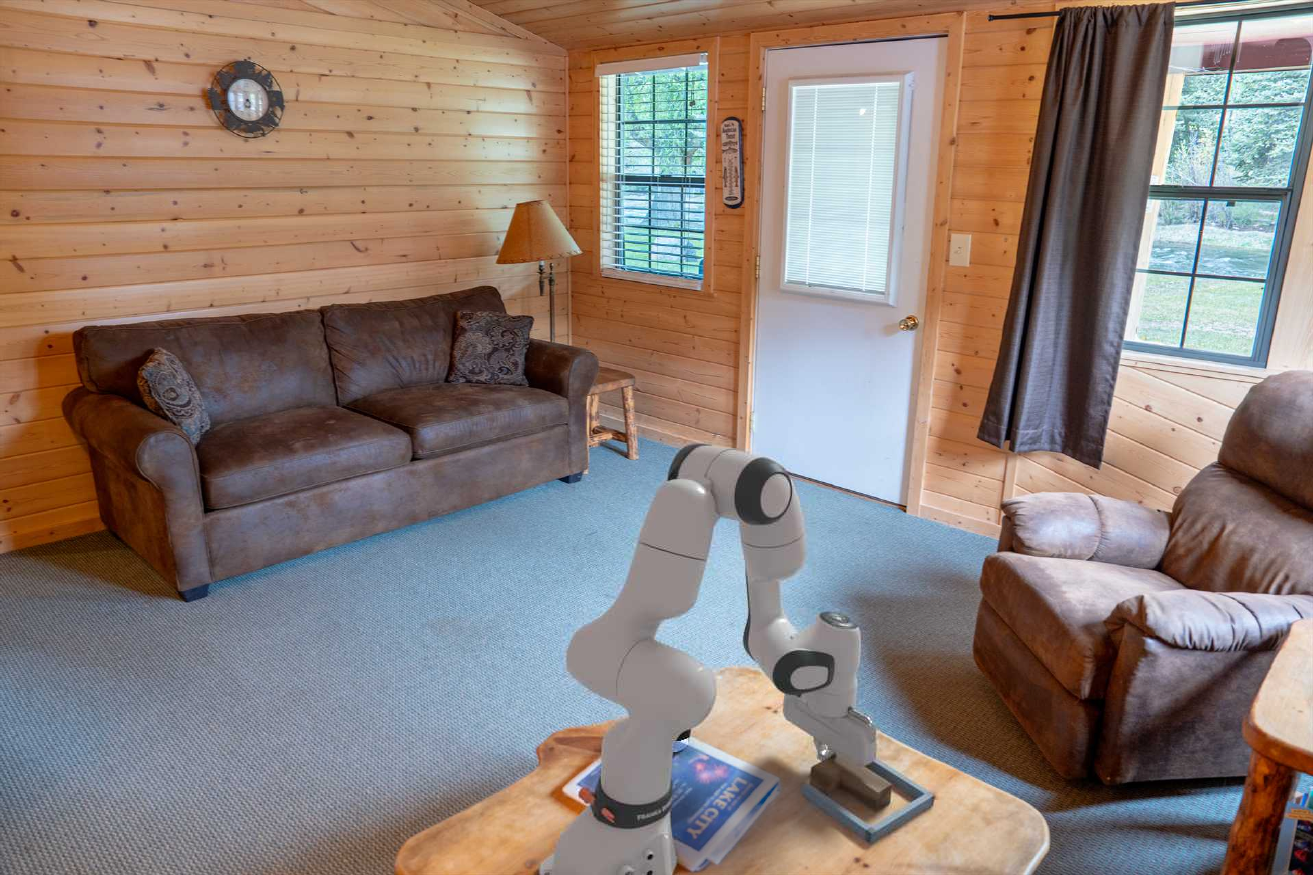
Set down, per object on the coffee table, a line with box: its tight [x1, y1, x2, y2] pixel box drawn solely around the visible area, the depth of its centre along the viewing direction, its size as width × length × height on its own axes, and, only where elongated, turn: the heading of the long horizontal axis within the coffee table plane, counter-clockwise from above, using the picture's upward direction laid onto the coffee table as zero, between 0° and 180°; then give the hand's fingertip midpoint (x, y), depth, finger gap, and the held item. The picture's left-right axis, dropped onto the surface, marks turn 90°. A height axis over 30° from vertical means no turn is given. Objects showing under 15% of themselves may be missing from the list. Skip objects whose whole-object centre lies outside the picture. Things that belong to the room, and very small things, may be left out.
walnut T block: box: [809, 752, 893, 813], centre depth 168 cm, size 12×12×4 cm
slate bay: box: [801, 757, 936, 845], centre depth 166 cm, size 17×16×2 cm
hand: (825, 761), depth 174 cm, fingers closed
